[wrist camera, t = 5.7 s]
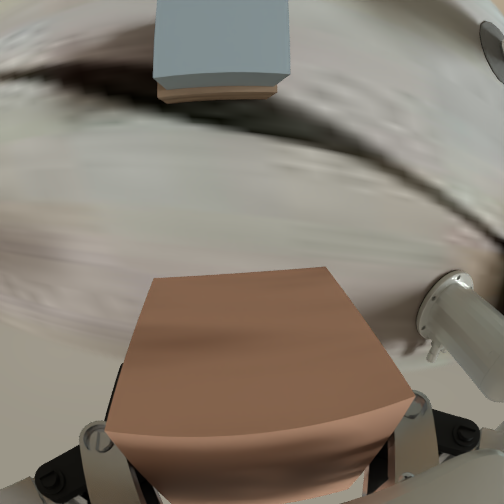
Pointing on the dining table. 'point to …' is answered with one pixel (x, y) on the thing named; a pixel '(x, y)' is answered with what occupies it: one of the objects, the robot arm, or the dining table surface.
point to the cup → (493, 48)
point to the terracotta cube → (254, 389)
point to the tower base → (214, 93)
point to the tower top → (221, 43)
